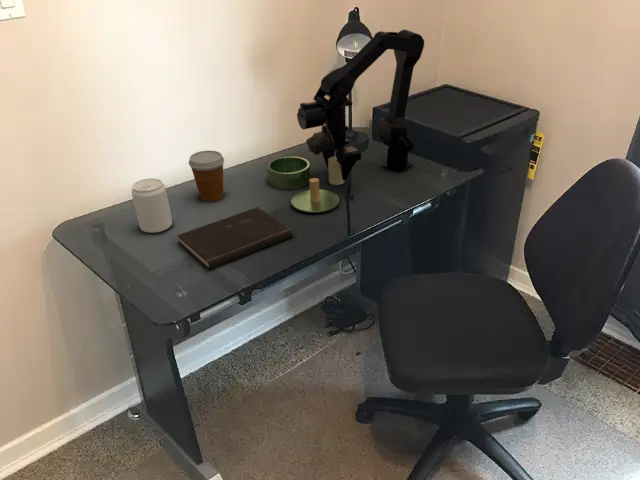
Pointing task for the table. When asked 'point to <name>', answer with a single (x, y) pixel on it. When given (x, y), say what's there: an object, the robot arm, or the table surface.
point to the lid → (315, 199)
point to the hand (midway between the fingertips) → (336, 174)
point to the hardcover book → (234, 237)
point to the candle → (334, 171)
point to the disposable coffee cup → (208, 174)
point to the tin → (289, 172)
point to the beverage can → (151, 205)
